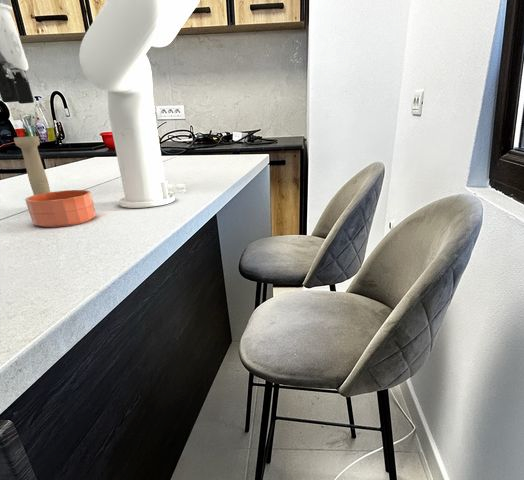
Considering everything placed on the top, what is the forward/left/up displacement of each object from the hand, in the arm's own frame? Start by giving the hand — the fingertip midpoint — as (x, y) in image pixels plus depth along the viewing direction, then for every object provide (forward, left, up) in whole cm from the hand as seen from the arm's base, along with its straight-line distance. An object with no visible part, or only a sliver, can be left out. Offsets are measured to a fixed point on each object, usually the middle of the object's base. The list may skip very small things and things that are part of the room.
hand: (19, 102), depth 92 cm
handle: (+1, 0, -22) cm, 22 cm away
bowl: (-8, +19, -22) cm, 30 cm away
